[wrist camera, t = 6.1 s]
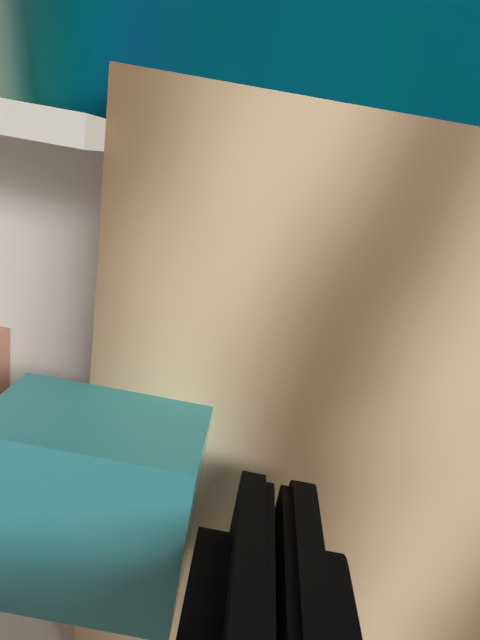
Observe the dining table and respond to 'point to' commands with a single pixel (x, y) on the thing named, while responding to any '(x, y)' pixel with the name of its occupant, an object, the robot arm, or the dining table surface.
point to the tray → (48, 259)
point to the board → (306, 320)
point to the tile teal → (97, 503)
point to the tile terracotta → (4, 358)
